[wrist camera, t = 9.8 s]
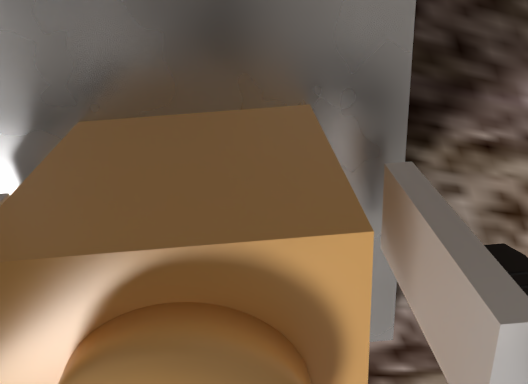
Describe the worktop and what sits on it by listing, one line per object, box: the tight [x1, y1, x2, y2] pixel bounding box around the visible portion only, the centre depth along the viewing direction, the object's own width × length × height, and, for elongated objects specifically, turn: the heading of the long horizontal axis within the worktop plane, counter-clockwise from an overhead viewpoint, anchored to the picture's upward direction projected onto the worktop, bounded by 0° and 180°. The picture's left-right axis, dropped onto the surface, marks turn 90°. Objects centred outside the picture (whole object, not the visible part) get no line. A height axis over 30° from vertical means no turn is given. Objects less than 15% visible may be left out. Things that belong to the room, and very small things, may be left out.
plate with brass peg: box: [0, 0, 416, 342], centre depth 13 cm, size 14×12×7 cm
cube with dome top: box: [0, 104, 374, 384], centre depth 11 cm, size 6×6×8 cm
